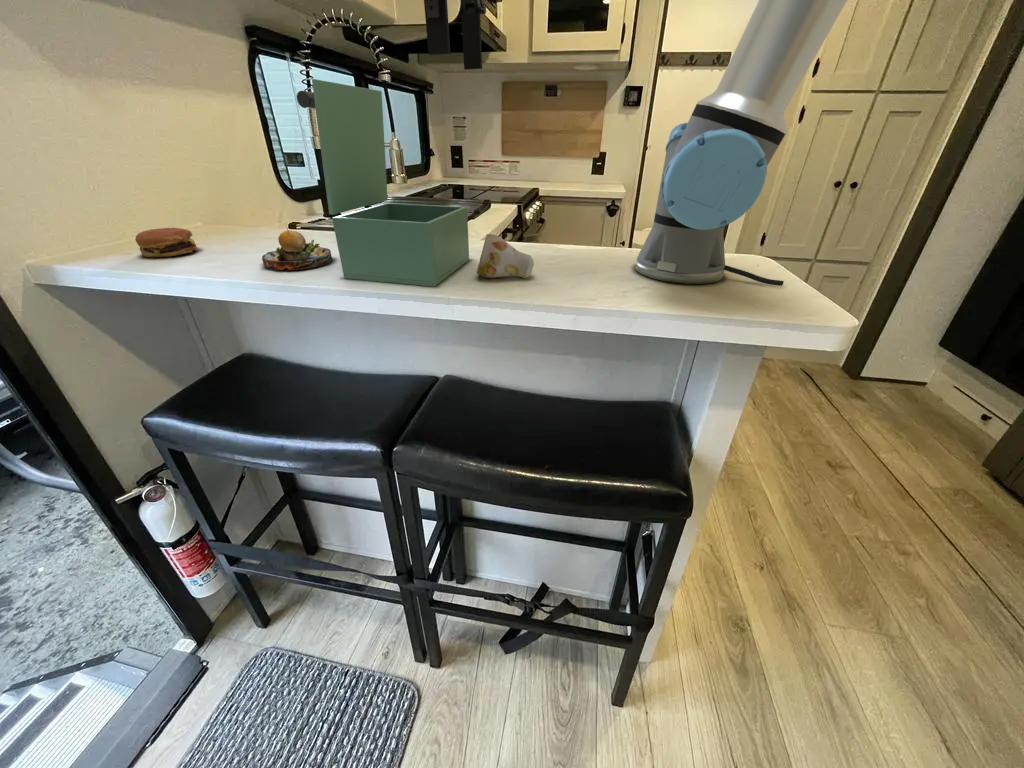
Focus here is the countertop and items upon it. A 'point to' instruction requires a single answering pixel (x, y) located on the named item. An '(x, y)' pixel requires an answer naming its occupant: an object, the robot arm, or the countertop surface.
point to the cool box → (402, 243)
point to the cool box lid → (349, 143)
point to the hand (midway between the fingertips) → (458, 62)
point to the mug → (503, 259)
